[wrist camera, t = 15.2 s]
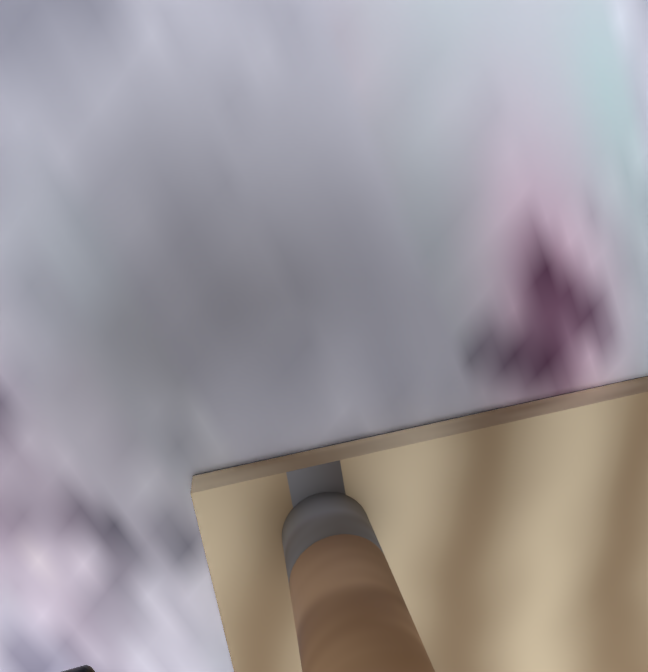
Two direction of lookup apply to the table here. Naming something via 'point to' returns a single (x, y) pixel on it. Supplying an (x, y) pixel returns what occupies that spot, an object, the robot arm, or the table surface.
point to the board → (463, 535)
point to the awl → (346, 592)
